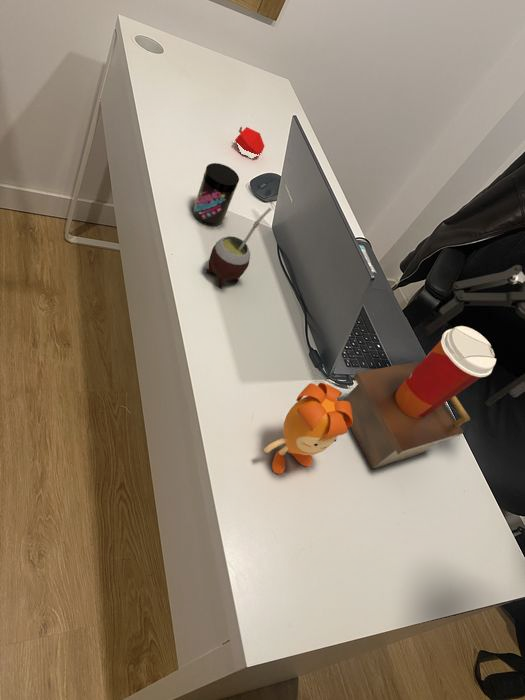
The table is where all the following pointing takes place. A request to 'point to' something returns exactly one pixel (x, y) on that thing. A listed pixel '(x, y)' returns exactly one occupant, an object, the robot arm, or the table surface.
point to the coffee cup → (446, 371)
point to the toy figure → (312, 425)
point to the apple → (250, 140)
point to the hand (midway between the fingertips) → (455, 366)
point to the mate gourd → (231, 256)
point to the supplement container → (215, 193)
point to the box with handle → (395, 418)
